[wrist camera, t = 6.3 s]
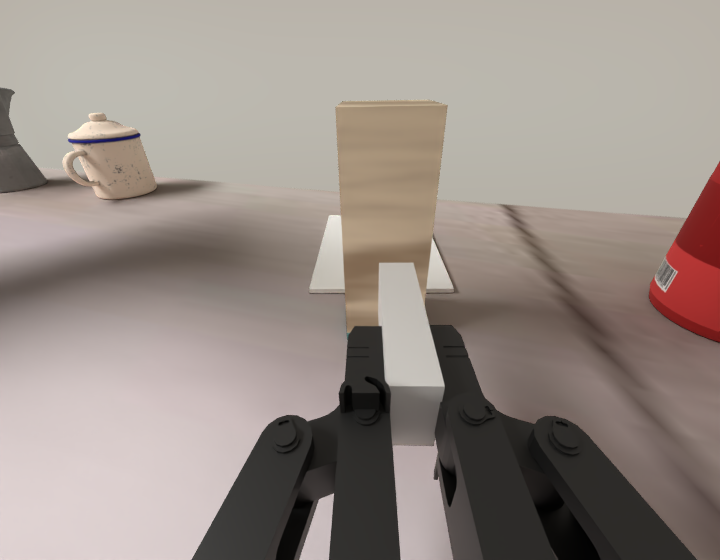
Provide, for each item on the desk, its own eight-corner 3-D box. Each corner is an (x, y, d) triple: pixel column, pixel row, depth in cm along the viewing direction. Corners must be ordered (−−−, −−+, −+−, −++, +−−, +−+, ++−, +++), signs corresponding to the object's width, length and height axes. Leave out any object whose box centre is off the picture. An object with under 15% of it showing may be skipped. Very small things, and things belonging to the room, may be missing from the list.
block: (420, 339, 21) (447, 105, 14) (347, 339, 22) (335, 107, 14) (411, 296, 26) (428, 99, 18) (350, 297, 26) (342, 101, 18)
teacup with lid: (130, 183, 57) (101, 110, 51) (171, 186, 55) (146, 110, 49) (62, 204, 47) (15, 118, 41) (108, 209, 45) (66, 118, 39)
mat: (453, 292, 26) (454, 288, 26) (309, 293, 26) (308, 289, 26) (422, 217, 40) (422, 214, 40) (329, 218, 41) (329, 215, 40)
